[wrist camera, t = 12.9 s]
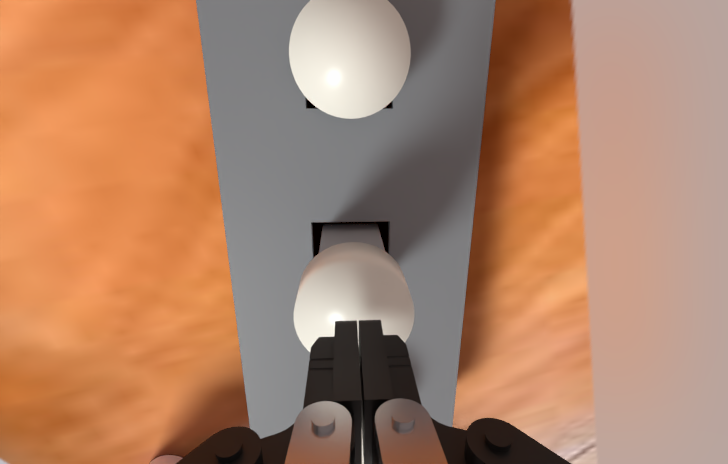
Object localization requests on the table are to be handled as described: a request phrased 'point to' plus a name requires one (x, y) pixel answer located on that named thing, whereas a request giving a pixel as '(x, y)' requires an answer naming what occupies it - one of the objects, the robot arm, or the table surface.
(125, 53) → the table surface
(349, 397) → the robot arm
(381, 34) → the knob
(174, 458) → the smoothie
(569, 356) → the table surface
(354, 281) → the knob middle
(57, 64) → the table surface
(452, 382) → the control panel
